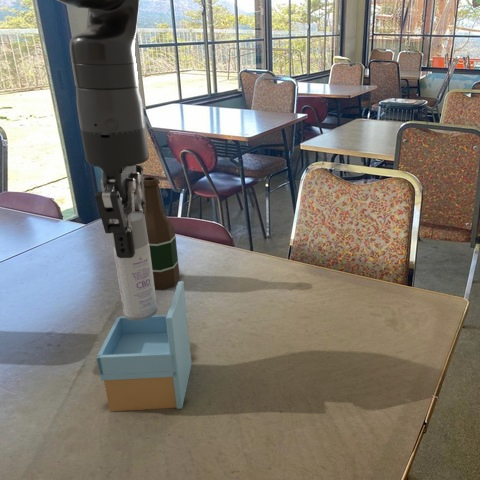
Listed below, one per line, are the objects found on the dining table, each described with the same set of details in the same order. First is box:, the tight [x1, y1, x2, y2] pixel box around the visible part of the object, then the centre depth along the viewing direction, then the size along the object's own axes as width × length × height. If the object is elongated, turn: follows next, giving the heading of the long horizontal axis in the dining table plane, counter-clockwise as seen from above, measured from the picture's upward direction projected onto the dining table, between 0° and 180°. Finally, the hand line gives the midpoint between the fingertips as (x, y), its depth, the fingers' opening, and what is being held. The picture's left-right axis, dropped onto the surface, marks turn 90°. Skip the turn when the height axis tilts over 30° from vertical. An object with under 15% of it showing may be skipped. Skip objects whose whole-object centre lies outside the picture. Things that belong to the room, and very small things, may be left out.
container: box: [110, 211, 158, 320], centre depth 68 cm, size 5×5×15 cm
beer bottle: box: [142, 176, 180, 291], centre depth 103 cm, size 8×8×24 cm
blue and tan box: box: [95, 280, 193, 412], centre depth 73 cm, size 11×11×16 cm
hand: (131, 248), depth 66 cm, fingers closed on container, 4 cm apart
